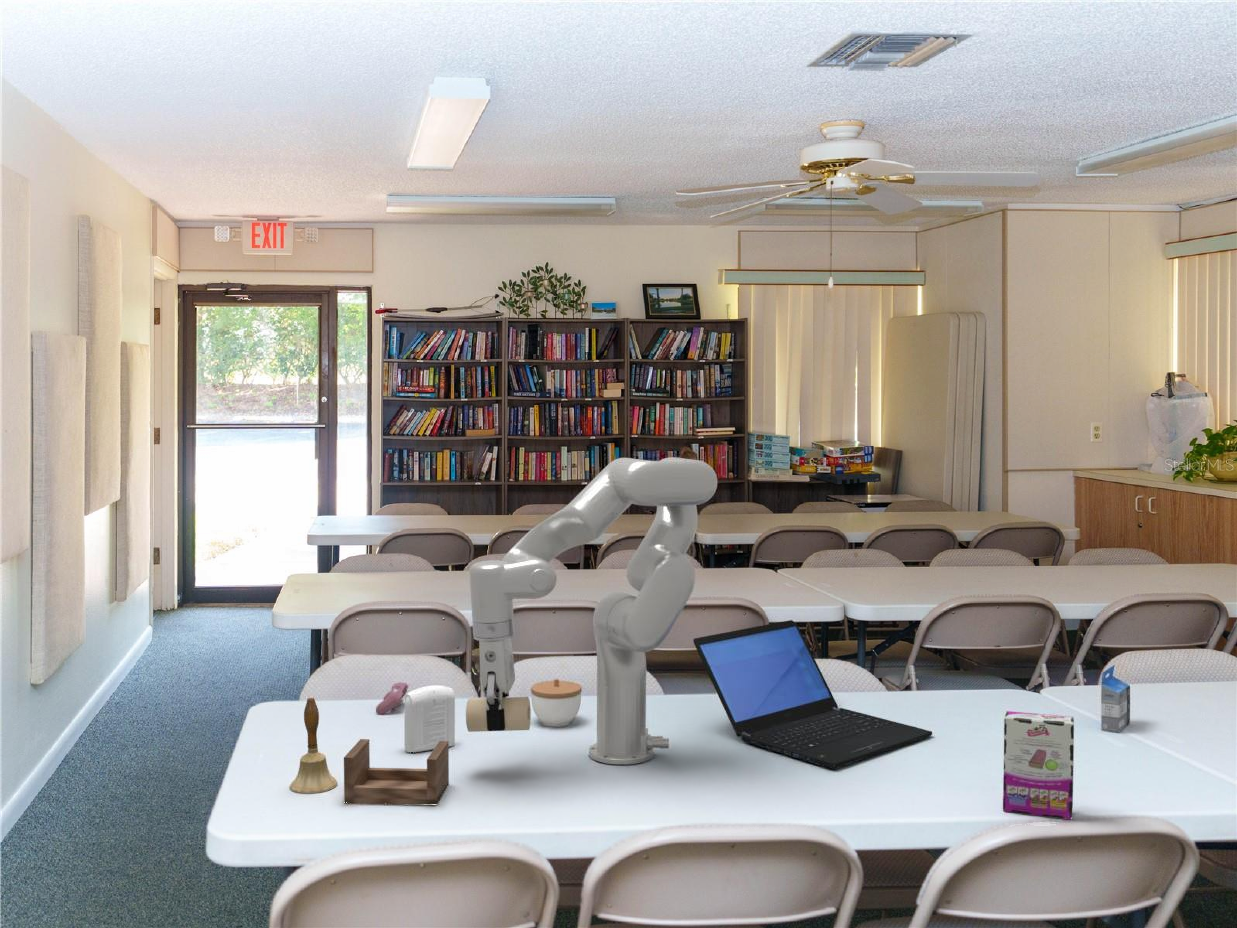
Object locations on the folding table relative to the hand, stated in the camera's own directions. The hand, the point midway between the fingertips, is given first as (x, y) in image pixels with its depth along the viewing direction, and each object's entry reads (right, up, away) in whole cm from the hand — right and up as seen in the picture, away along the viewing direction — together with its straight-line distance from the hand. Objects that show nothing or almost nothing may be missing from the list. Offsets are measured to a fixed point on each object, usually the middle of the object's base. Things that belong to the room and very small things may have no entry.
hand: (499, 723), depth 217 cm
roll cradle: (-17, -10, -10) cm, 22 cm away
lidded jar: (+9, -7, +33) cm, 35 cm away
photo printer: (-15, -9, +16) cm, 24 cm away
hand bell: (-33, -10, -6) cm, 35 cm away
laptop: (+62, -8, +27) cm, 68 cm away
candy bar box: (+93, -11, -17) cm, 95 cm away
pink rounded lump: (-28, -7, +44) cm, 52 cm away
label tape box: (+127, -8, +32) cm, 131 cm away
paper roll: (0, -1, 0) cm, 1 cm away
